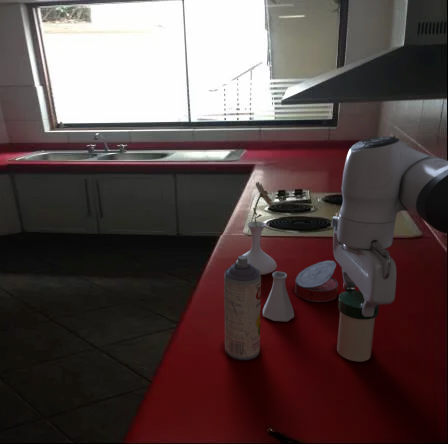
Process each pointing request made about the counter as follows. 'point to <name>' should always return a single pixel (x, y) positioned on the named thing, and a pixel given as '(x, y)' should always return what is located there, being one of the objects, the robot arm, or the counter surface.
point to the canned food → (317, 282)
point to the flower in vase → (256, 254)
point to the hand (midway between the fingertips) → (357, 301)
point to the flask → (278, 300)
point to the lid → (353, 305)
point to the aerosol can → (242, 310)
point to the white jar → (355, 338)
